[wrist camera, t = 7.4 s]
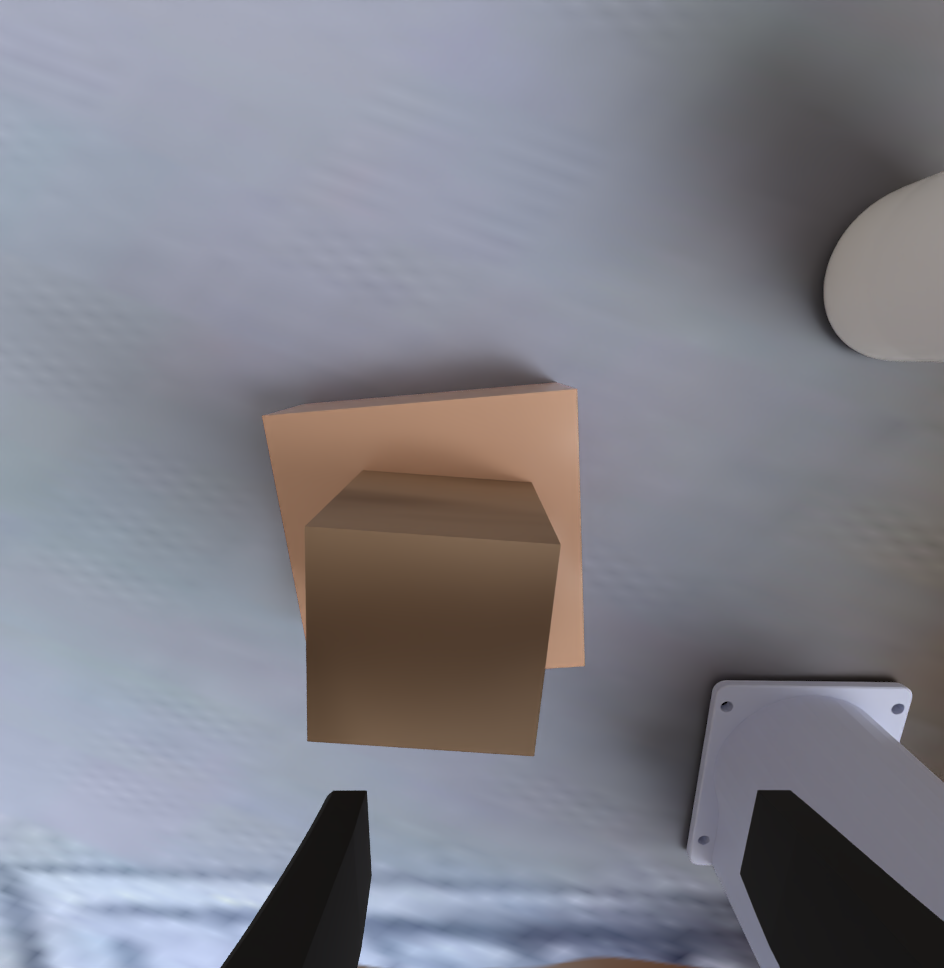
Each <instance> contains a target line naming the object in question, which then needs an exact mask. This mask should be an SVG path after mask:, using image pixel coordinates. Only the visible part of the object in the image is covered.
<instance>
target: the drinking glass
mask: <svg viewBox="0 0 944 968" xmlns="http://www.w3.org/2000/svg"><path fill="white" fill-rule="evenodd" d="M823 298H824V306H825V310H826V314H827V317H828V320H829V322H830V324H831V326H832V328H833V330H834V331H835V333H836V334H837V335H838V337H839V338H840V339H841V340H842V341H843V342H844V343H845V344H846V345H848V346H849V347H850V348H852V349H853V350H855V351H856V352H858V353H861V354H863V355H865V356H868V357H871V358H874V359H879V360H885V361H903V362H941V363H944V171H942V172H939V173H936V174H934V175H931V176H929V177H926V178H924V179H921V180H919V181H916V182H914V183H911V184H909V185H907V186H904V187H902V188H900V189H897V190H895V191H893V192H891V193H889V194H888V195H886V196H884V197H882V198H881V199H879V200H878V201H876V202H875V203H873V204H872V205H871V206H869V207H868V208H867V209H866V210H864V211H863V212H862V213H861V214H860V215H859V216H858V217H857V218H856V219H855V220H854V221H853V222H852V223H851V224H850V226H849V227H848V228H847V229H846V231H845V232H844V233H843V235H842V236H841V238H840V239H839V241H838V243H837V245H836V247H835V248H834V250H833V253H832V255H831V257H830V260H829V263H828V266H827V269H826V273H825V279H824V288H823Z"/></svg>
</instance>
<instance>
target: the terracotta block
mask: <svg viewBox="0 0 944 968" xmlns="http://www.w3.org/2000/svg"><path fill="white" fill-rule="evenodd" d="M262 419H263V424H264V429H265V434H266V439H267V444H268V449H269V455H270V460H271V465H272V470H273V475H274V480H275V485H276V490H277V495H278V501H279V506H280V511H281V516H282V521H283V526H284V531H285V536H286V541H287V547H288V552H289V557H290V562H291V567H292V572H293V577H294V582H295V588H296V593H297V598H298V603H299V608H300V613H301V618H302V623H303V628H304V634H305V639H306V589H305V526H306V525H307V524H308V523H309V522H310V521H311V520H312V519H313V518H314V517H315V516H316V515H317V514H318V513H319V512H320V511H321V510H322V509H323V508H324V507H325V506H326V505H327V504H328V503H329V502H330V501H331V500H332V499H333V498H334V497H336V496H337V495H338V494H339V493H340V492H341V491H342V490H343V489H344V488H345V487H346V486H347V485H348V484H349V483H350V482H351V481H352V480H353V479H354V478H355V477H356V476H357V475H358V474H359V473H360V472H361V471H362V470H367V471H381V472H395V473H409V474H422V475H436V476H450V477H464V478H478V479H492V480H506V481H519V482H532V484H533V486H534V488H535V490H536V493H537V495H538V497H539V499H540V501H541V503H542V505H543V508H544V510H545V512H546V514H547V516H548V518H549V520H550V522H551V525H552V527H553V529H554V531H555V533H556V535H557V537H558V540H559V542H560V544H561V548H560V556H559V563H558V571H557V579H556V587H555V595H554V603H553V611H552V619H551V626H550V634H549V642H548V650H547V658H546V666H545V669H550V668H564V667H578V666H585V656H584V620H583V584H582V547H581V511H580V475H579V439H578V403H577V389H575V388H572V387H569V386H566V385H563V384H560V383H557V382H553V383H541V384H529V385H518V386H506V387H494V388H483V389H471V390H459V391H447V392H436V393H424V394H412V395H401V396H389V397H377V398H366V399H354V400H342V401H331V402H319V403H307V404H302V405H298V406H295V407H291V408H288V409H284V410H281V411H277V412H274V413H270V414H267V415H263V416H262Z"/></svg>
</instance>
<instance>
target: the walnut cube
mask: <svg viewBox="0 0 944 968" xmlns="http://www.w3.org/2000/svg"><path fill="white" fill-rule="evenodd" d="M560 548H561V544H560V542H559V540H558V537H557V535H556V533H555V531H554V529H553V527H552V525H551V522H550V520H549V518H548V516H547V514H546V512H545V510H544V508H543V505H542V503H541V501H540V499H539V497H538V495H537V493H536V490H535V488H534V486H533V484H532V482H519V481H506V480H492V479H478V478H464V477H450V476H436V475H422V474H409V473H395V472H381V471H367V470H362V471H361V472H360V473H359V474H358V475H357V476H356V477H355V478H354V479H353V480H352V481H351V482H350V483H349V484H348V485H347V486H346V487H345V488H344V489H343V490H342V491H341V492H340V493H339V494H338V495H337V496H336V497H334V498H333V499H332V500H331V501H330V502H329V503H328V504H327V505H326V506H325V507H324V508H323V509H322V510H321V511H320V512H319V513H318V514H317V515H316V516H315V517H314V518H313V519H312V520H311V521H310V522H309V523H308V524H307V525H306V526H305V589H306V666H307V741H311V742H326V743H341V744H356V745H371V746H386V747H401V748H417V749H432V750H447V751H462V752H477V753H492V754H507V755H523V756H534V752H535V744H536V737H537V729H538V721H539V713H540V705H541V697H542V689H543V682H544V674H545V666H546V658H547V650H548V642H549V634H550V626H551V619H552V611H553V603H554V595H555V587H556V579H557V571H558V563H559V556H560Z"/></svg>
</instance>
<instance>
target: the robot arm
mask: <svg viewBox="0 0 944 968" xmlns="http://www.w3.org/2000/svg"><path fill="white" fill-rule="evenodd" d="M911 700H912V692H911V690H909V689H908V688H907V687H905V686H904V685H903V684H901V683H897V682H830V681H750V680H724V681H720V682H718V683H717V684H716V685H715V686H714V688H713V690H712V696H711V702H710V708H709V714H708V720H707V726H706V733H705V739H704V745H703V751H702V757H701V763H700V769H699V776H698V782H697V788H696V794H695V800H694V806H693V812H692V819H691V825H690V831H689V837H688V843H687V849H686V850H687V855H688V857H689V859H690V861H691V862H692V863H694V864H696V865H713V868H714V870H715V872H716V874H717V876H718V878H719V880H720V882H721V885H722V887H723V889H724V891H725V893H726V895H727V897H728V899H729V902H730V904H731V906H732V908H733V910H734V912H735V914H736V916H737V919H738V921H739V923H740V925H741V927H742V929H743V931H744V933H745V936H746V938H747V940H748V942H749V944H750V946H751V948H752V950H753V953H754V955H755V957H756V959H757V961H758V963H759V965H760V967H761V968H944V782H942V781H941V780H940V779H939V778H938V777H937V776H936V775H935V774H934V773H932V772H931V771H930V770H929V769H928V768H927V767H926V766H925V765H924V764H923V763H921V762H920V761H919V760H918V759H917V758H916V757H915V756H914V755H913V754H911V753H910V752H909V751H908V750H907V749H906V748H905V747H904V746H903V745H901V744H900V743H899V742H900V738H901V735H902V731H903V728H904V724H905V721H906V717H907V714H908V710H909V707H910V704H911ZM727 701H728V702H727ZM724 702H727V703H726V704H725V705H722V706H721V704H722V703H724ZM371 876H372V874H371V856H370V838H369V821H368V803H367V791H333V792H331V793H330V794H329V795H328V796H327V798H326V800H325V802H324V803H323V805H322V807H321V809H320V811H319V813H318V815H317V816H316V818H315V820H314V822H313V824H312V825H311V827H310V829H309V831H308V832H307V834H306V836H305V838H304V839H303V841H302V843H301V844H300V846H299V848H298V849H297V851H296V853H295V854H294V856H293V858H292V859H291V861H290V863H289V864H288V866H287V868H286V869H285V871H284V873H283V874H282V876H281V877H280V879H279V881H278V882H277V884H276V885H275V887H274V888H273V890H272V891H271V893H270V895H269V896H268V898H267V899H266V901H265V902H264V904H263V905H262V907H261V909H260V910H259V912H258V913H257V915H256V916H255V918H254V919H253V921H252V923H251V924H250V926H249V927H248V929H247V930H246V932H245V933H244V935H243V936H242V938H241V939H240V940H239V942H238V943H237V945H236V946H235V948H234V949H233V951H232V952H231V953H230V955H229V956H228V958H227V959H226V961H225V962H224V963H223V965H222V966H221V968H357V966H358V961H359V957H360V952H361V947H362V940H363V933H364V926H365V919H366V912H367V905H368V898H369V890H370V883H371Z"/></svg>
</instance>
